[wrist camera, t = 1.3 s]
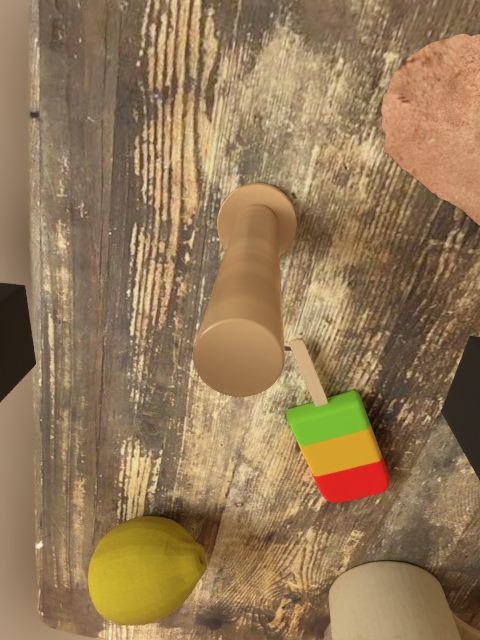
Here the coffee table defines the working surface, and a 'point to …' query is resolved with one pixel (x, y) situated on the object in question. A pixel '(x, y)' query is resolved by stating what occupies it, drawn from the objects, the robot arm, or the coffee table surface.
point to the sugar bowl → (393, 605)
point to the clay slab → (438, 120)
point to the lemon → (144, 570)
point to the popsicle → (336, 438)
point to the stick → (247, 294)
